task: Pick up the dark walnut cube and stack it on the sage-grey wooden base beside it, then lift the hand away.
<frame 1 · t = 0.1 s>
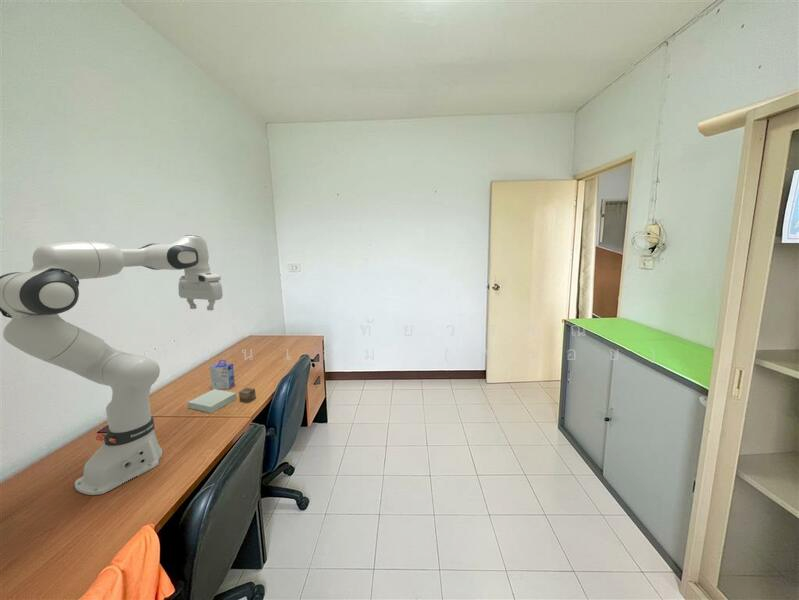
hand: (201, 309, 130), 48 cm above the table, tool pointing down, fingers open, 8 cm apart
base: (213, 403, 149), on the table
ink cartridge box: (223, 387, 166), on the table
walnut cube: (247, 400, 153), on the table
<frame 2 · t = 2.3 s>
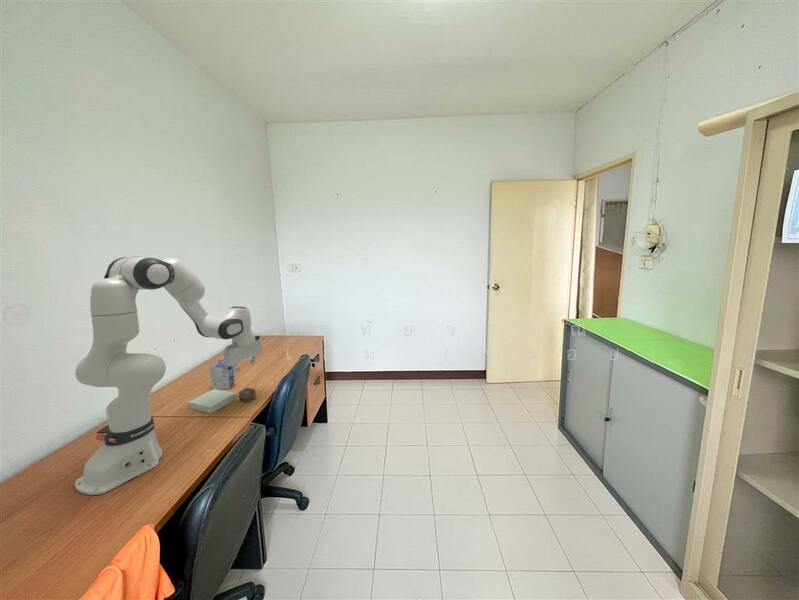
hand: (245, 367, 150), 16 cm above the table, tool pointing down, fingers open, 8 cm apart
nothing on the table moved.
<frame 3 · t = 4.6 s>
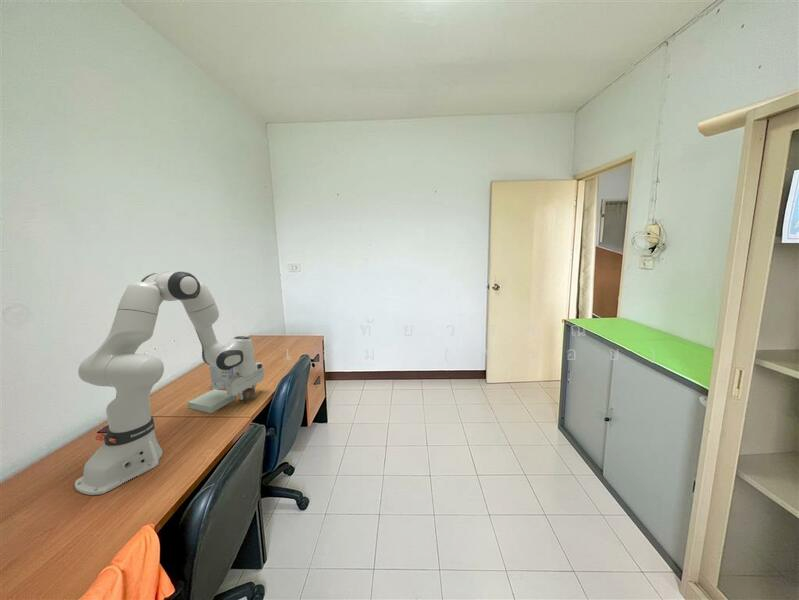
hand: (247, 396, 152), 2 cm above the table, tool pointing down, fingers closed on walnut cube, 5 cm apart
walnut cube: (247, 399, 153), on the table, touching gripper
everything else where it was.
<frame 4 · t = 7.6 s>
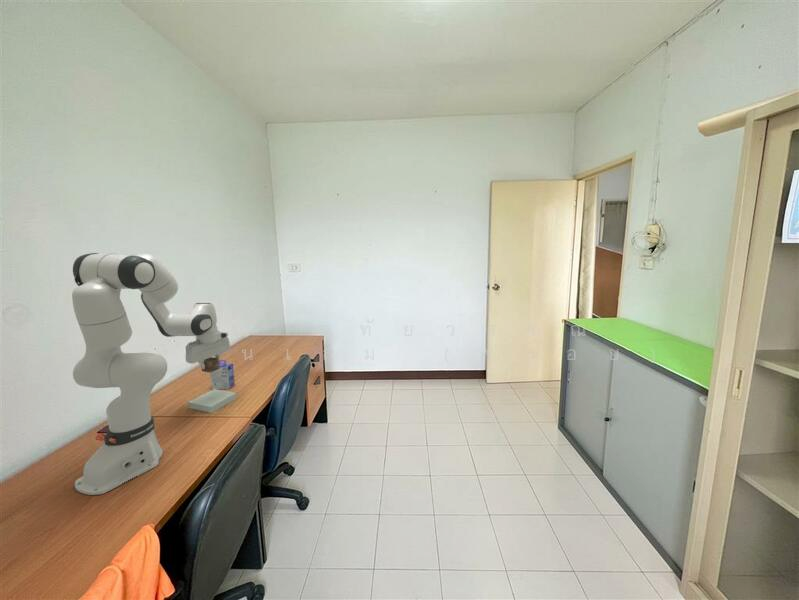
hand: (210, 365, 146), 19 cm above the table, tool pointing down, fingers closed on walnut cube, 5 cm apart
walnut cube: (210, 369, 146), point 17 cm above the table, touching gripper
everything else where it was.
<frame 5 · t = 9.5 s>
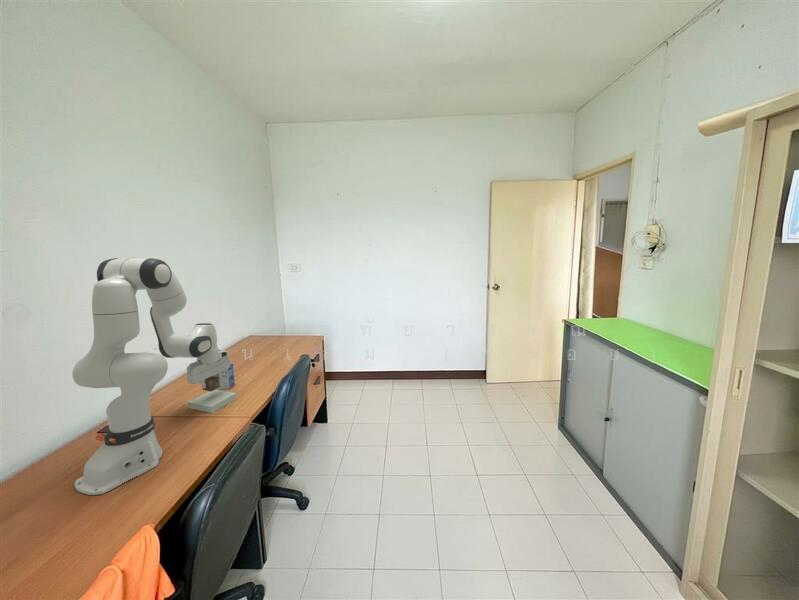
hand: (211, 384, 148), 9 cm above the table, tool pointing down, fingers closed on walnut cube, 5 cm apart
walnut cube: (211, 388, 148), point 7 cm above the table, touching gripper
everything else where it was.
when the fingers open (6 cm above the table, at t = 11.0 s): walnut cube drops 1 cm, resting on base.
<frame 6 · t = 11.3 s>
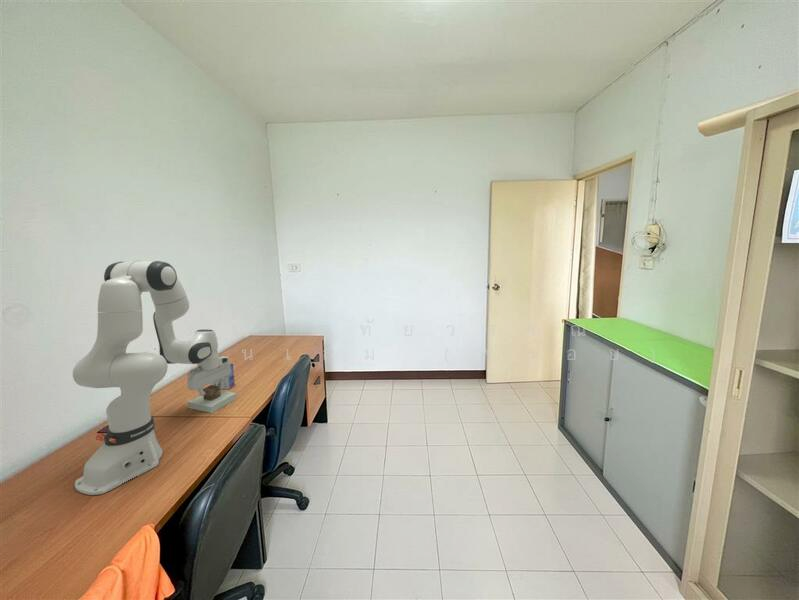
hand: (211, 390, 148), 6 cm above the table, tool pointing down, fingers open, 8 cm apart
walnut cube: (212, 397, 149), point 3 cm above the table, touching base
everything else where it was.
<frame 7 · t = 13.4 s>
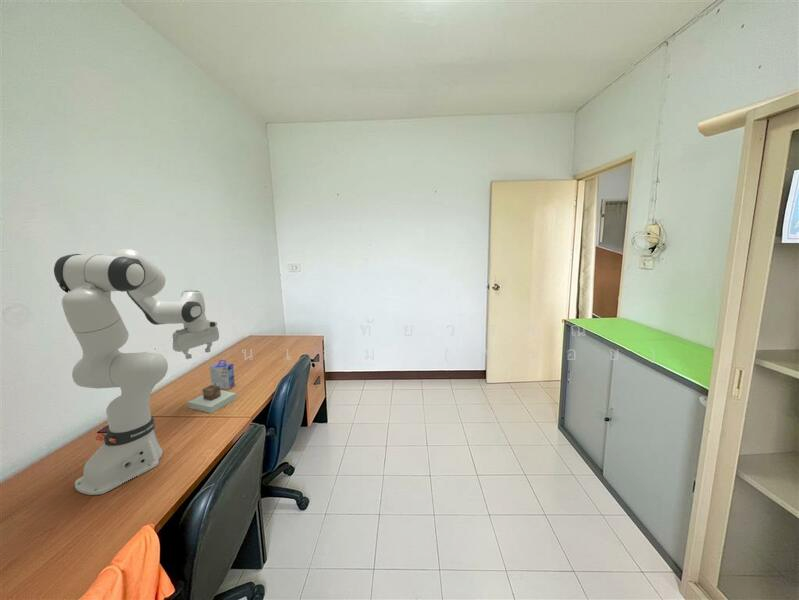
hand: (198, 355, 144), 24 cm above the table, tool pointing down, fingers open, 8 cm apart
nothing on the table moved.
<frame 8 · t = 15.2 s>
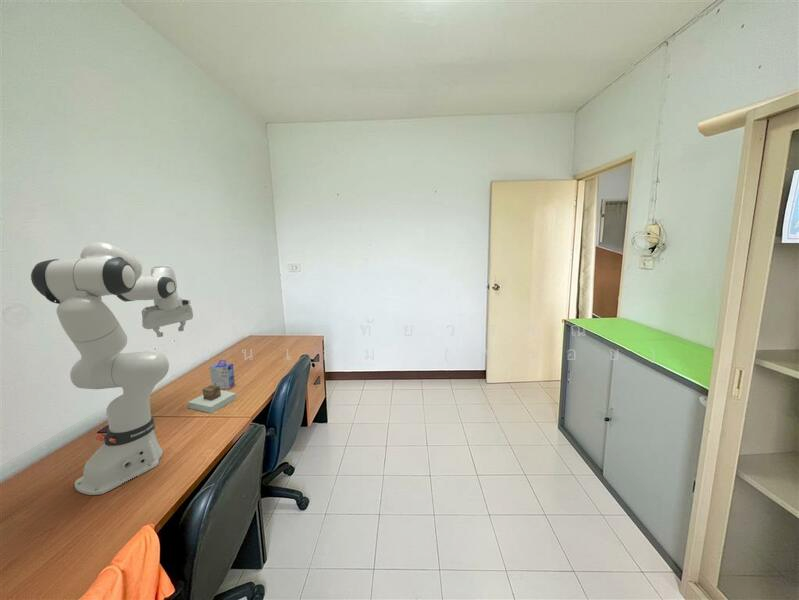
hand: (171, 333, 140), 35 cm above the table, tool pointing down, fingers open, 8 cm apart
nothing on the table moved.
at the end: walnut cube inside the target area on the base (0.1 cm from its centre), point 3.0 cm above the base's base; walnut cube tilted 0°; the gripper is holding nothing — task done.
